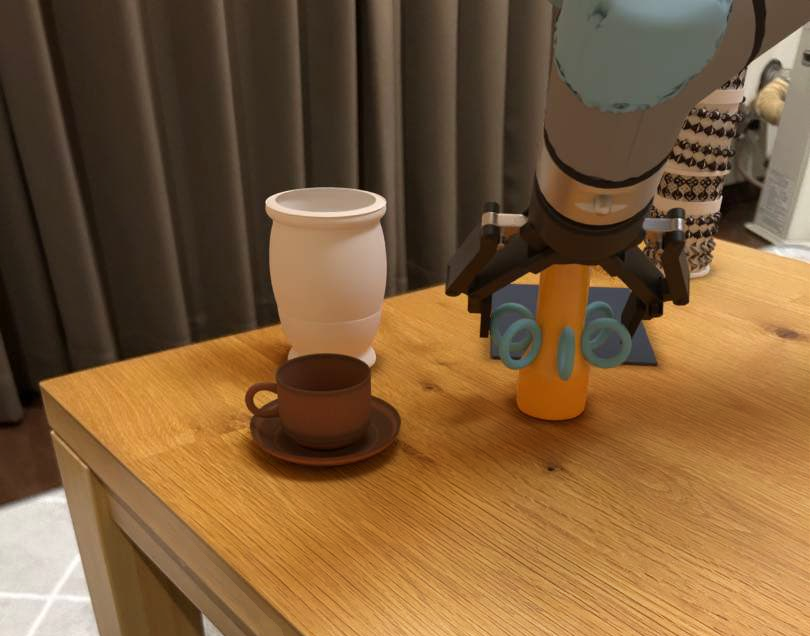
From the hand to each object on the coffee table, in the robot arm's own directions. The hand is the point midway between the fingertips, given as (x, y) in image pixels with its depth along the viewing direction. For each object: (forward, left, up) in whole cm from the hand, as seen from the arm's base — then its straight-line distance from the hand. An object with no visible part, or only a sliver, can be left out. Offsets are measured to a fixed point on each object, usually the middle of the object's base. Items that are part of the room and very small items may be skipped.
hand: (554, 326), depth 74 cm
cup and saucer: (+5, +21, -7) cm, 22 cm away
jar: (+18, +11, -7) cm, 22 cm away
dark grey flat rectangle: (+11, -15, -6) cm, 20 cm away
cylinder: (-2, +2, -7) cm, 7 cm away
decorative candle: (+15, -40, -7) cm, 43 cm away
